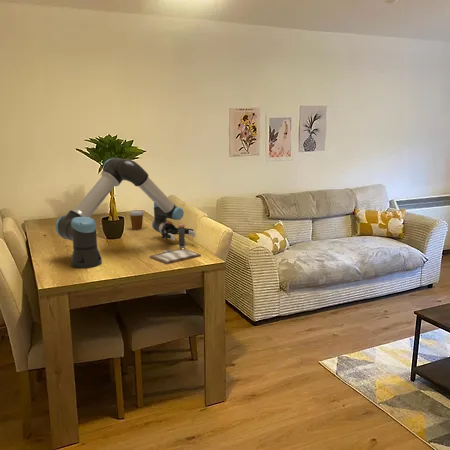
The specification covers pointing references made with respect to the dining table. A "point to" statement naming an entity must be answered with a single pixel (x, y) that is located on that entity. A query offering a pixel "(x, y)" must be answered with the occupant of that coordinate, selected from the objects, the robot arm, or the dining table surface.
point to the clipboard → (174, 256)
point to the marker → (181, 236)
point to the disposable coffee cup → (136, 219)
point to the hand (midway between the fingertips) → (184, 236)
